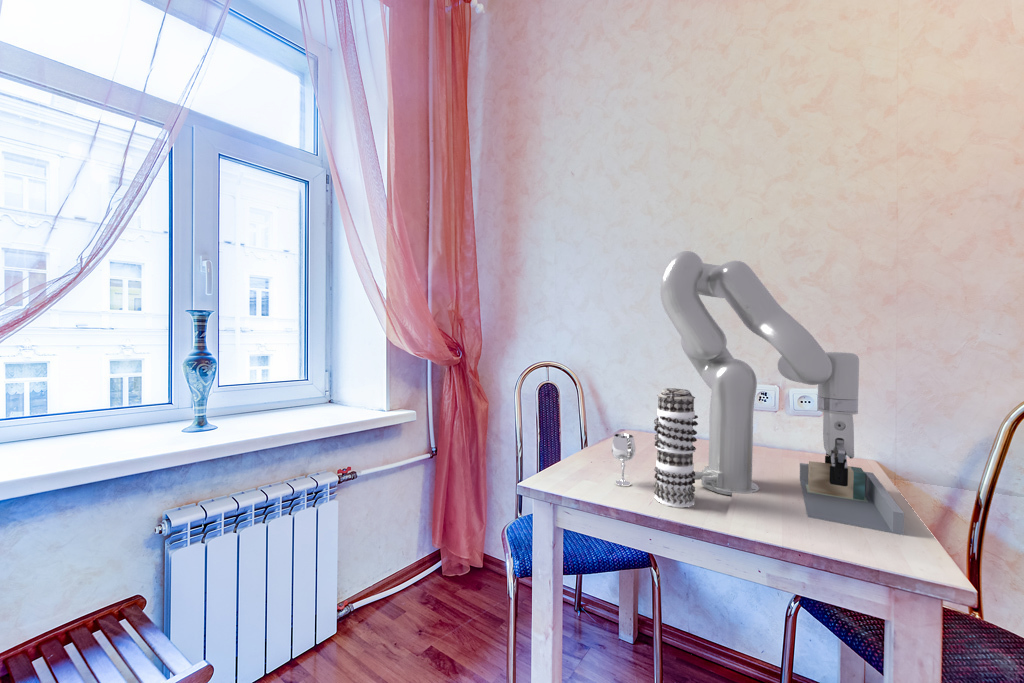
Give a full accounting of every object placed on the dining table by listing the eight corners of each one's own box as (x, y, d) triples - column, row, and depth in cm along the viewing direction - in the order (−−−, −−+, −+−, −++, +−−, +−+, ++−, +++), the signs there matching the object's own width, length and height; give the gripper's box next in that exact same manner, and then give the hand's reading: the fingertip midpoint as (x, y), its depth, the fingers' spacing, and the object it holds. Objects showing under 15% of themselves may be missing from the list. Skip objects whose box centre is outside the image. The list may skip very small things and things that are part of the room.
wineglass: (609, 485, 106) (610, 437, 106) (612, 478, 111) (613, 432, 111) (633, 489, 104) (634, 439, 104) (636, 481, 109) (636, 434, 109)
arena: (903, 540, 79) (904, 513, 79) (807, 521, 86) (808, 497, 86) (872, 493, 103) (872, 472, 103) (799, 482, 110) (799, 462, 110)
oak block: (809, 491, 101) (810, 466, 101) (808, 485, 105) (808, 460, 105) (864, 500, 95) (865, 473, 95) (860, 493, 100) (861, 467, 100)
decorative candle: (705, 507, 93) (708, 391, 93) (667, 510, 91) (669, 392, 91) (680, 492, 102) (682, 386, 102) (645, 494, 100) (647, 387, 100)
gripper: (865, 412, 91) (863, 493, 91) (851, 402, 105) (849, 471, 106) (821, 409, 94) (819, 486, 95) (814, 399, 109) (812, 466, 110)
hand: (835, 478), depth 100 cm, fingers open, 9 cm apart
